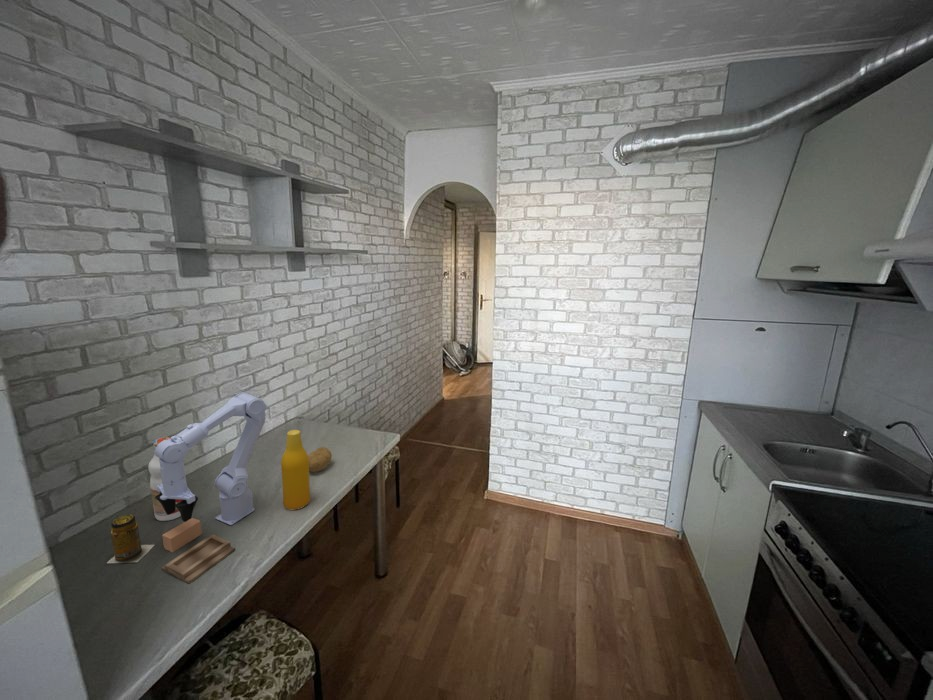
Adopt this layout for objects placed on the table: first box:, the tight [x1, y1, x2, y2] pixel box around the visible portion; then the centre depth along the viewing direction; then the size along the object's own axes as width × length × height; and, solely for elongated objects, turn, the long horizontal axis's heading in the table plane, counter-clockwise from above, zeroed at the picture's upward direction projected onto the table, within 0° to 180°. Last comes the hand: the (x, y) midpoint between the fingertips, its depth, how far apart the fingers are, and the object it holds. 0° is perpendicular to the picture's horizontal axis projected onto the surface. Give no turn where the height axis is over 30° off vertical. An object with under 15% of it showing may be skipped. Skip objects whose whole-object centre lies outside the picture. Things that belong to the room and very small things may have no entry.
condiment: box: [106, 514, 155, 564], centre depth 113 cm, size 7×8×12 cm
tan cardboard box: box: [161, 517, 203, 553], centre depth 120 cm, size 9×4×5 cm, turn 159°
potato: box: [307, 446, 333, 473], centre depth 165 cm, size 10×14×8 cm
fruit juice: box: [147, 437, 182, 522], centre depth 130 cm, size 9×9×28 cm
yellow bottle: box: [280, 429, 311, 510], centre depth 139 cm, size 9×9×29 cm
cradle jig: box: [160, 534, 236, 585], centre depth 114 cm, size 14×12×2 cm
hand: (179, 516), depth 118 cm, fingers open, 7 cm apart
